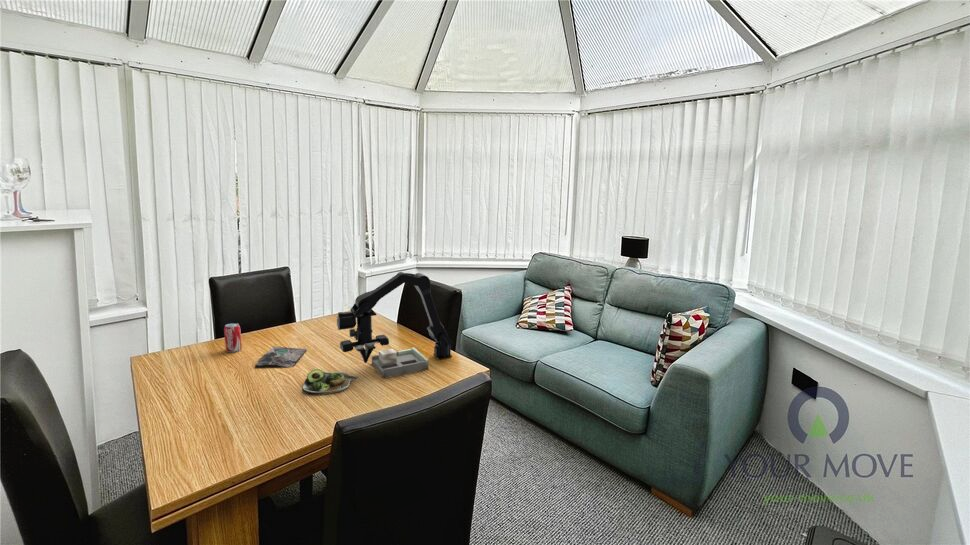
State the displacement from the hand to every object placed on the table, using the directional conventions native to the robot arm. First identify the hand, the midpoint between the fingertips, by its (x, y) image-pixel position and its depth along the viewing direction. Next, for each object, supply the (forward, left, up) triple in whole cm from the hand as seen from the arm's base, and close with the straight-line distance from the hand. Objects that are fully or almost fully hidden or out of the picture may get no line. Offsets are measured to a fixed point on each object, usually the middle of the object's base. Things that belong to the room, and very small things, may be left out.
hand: (365, 362), depth 179 cm
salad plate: (+17, +7, -4) cm, 19 cm away
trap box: (-13, +3, -3) cm, 14 cm away
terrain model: (+28, -27, -4) cm, 39 cm away
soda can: (+46, -46, -3) cm, 65 cm away
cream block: (-9, 0, -1) cm, 10 cm away
